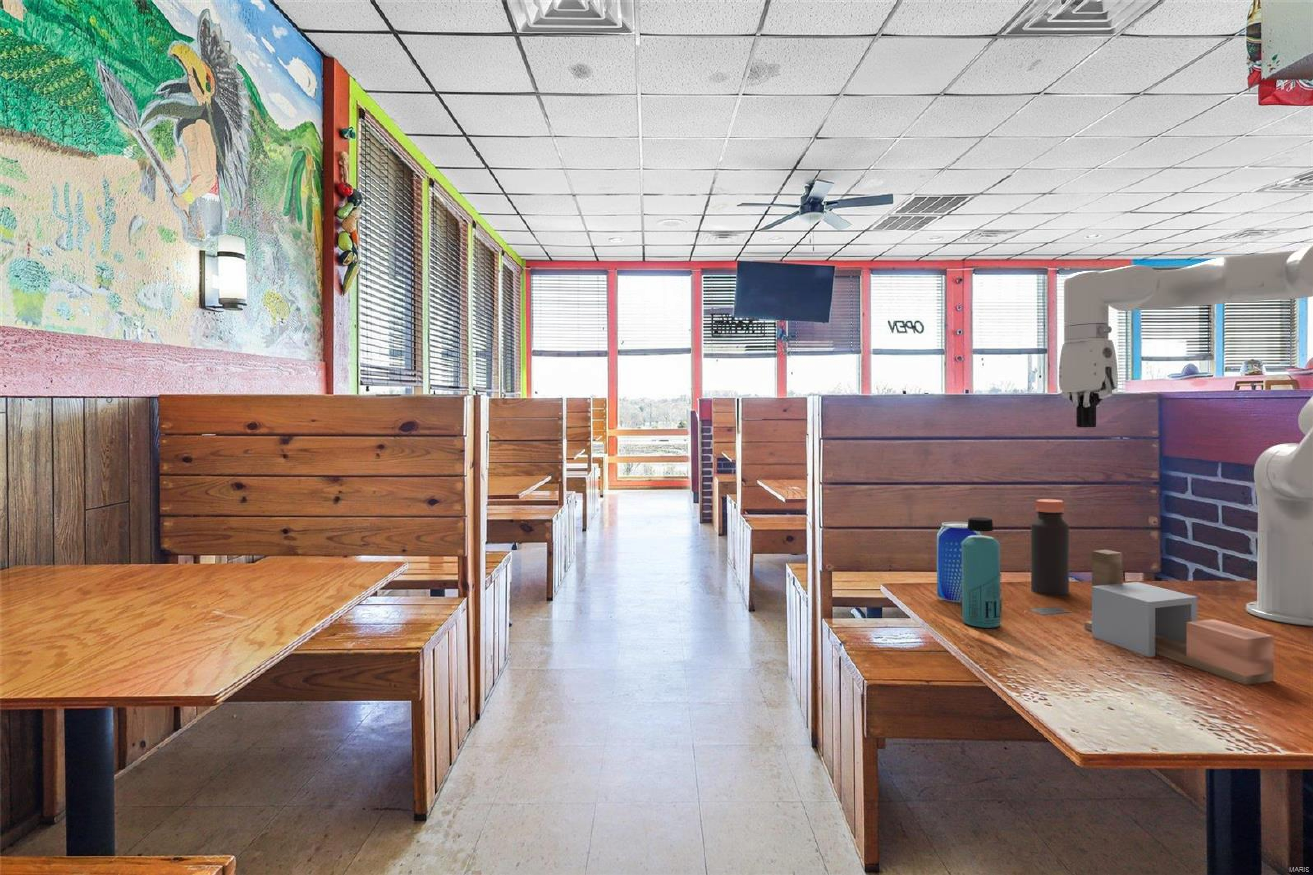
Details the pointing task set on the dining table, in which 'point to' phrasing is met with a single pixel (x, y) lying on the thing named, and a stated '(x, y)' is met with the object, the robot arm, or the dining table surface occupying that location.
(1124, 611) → the tunnel
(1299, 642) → the dining table surface
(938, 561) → the beer can
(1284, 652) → the dining table surface
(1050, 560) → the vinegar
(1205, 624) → the sled
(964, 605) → the beverage bottle
